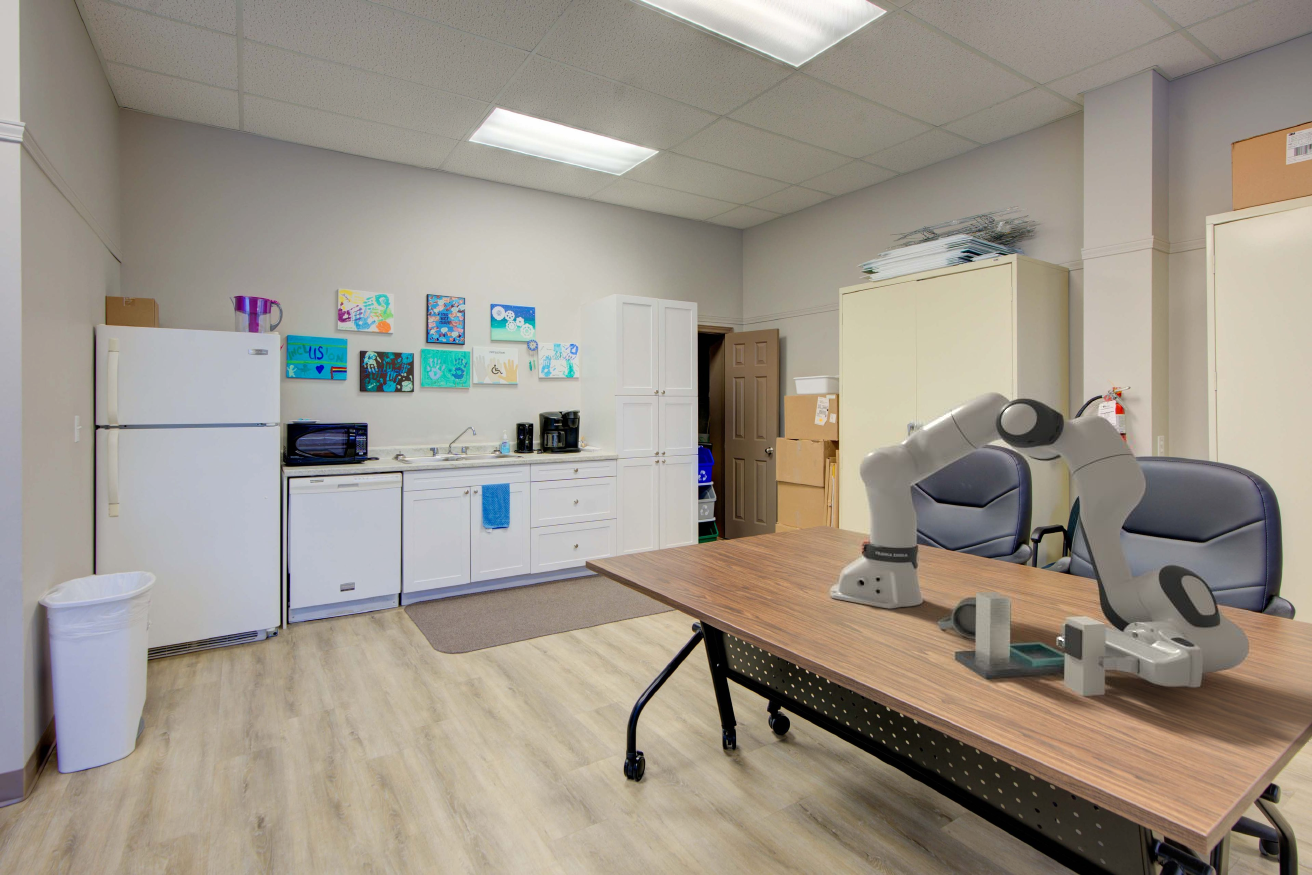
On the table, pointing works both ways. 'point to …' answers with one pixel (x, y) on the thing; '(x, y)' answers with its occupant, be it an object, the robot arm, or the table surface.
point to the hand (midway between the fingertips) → (1079, 652)
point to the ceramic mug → (962, 618)
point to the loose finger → (1084, 655)
